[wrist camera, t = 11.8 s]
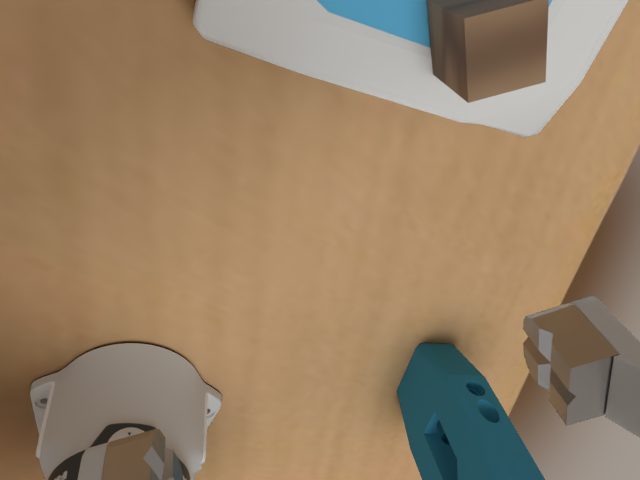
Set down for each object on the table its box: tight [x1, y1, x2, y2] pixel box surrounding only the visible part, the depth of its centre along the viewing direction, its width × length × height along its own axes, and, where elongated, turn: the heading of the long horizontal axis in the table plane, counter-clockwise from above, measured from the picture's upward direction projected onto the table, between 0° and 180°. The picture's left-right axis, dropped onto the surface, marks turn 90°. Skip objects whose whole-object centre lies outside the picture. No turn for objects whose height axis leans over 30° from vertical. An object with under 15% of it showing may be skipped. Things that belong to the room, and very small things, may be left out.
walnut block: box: [427, 0, 549, 103], centre depth 35 cm, size 5×5×6 cm
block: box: [397, 343, 545, 480], centre depth 56 cm, size 12×5×20 cm, turn 166°
